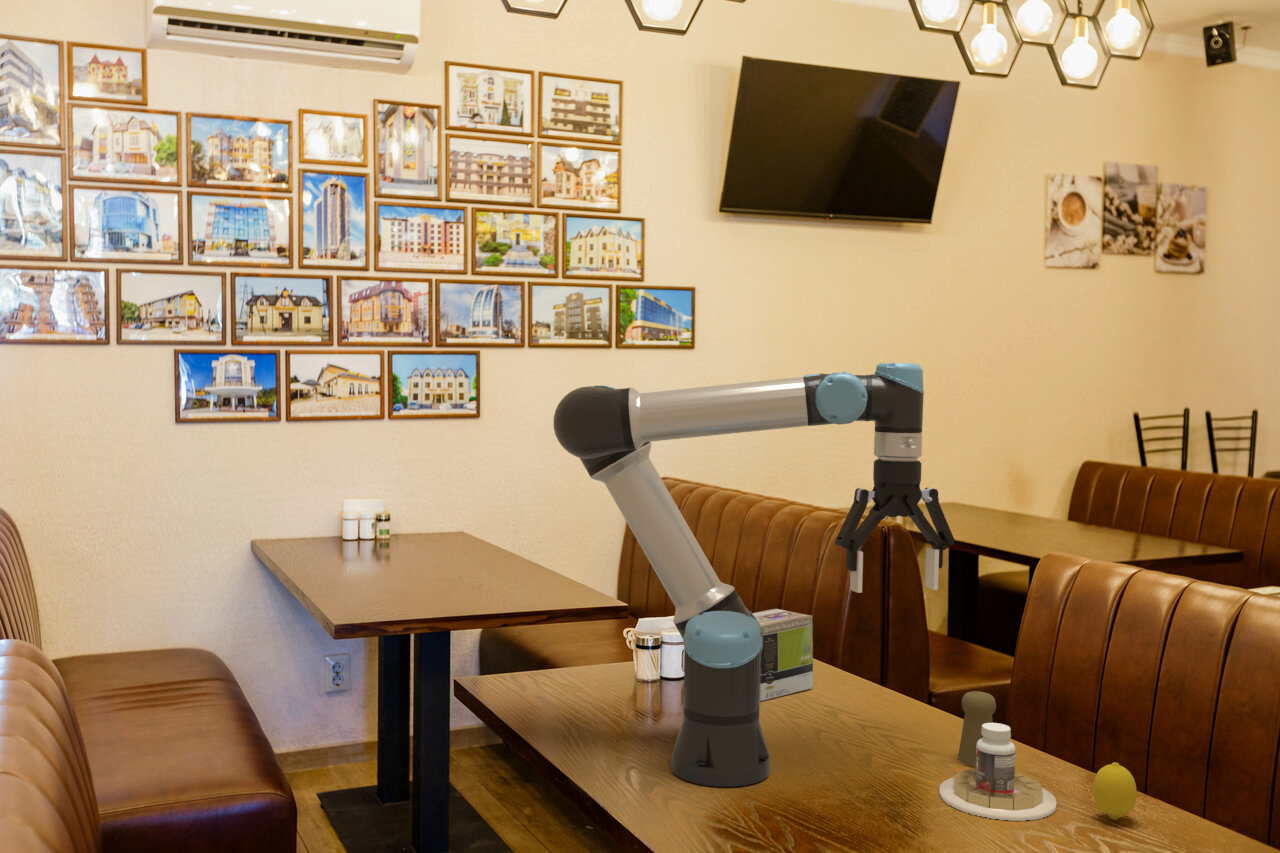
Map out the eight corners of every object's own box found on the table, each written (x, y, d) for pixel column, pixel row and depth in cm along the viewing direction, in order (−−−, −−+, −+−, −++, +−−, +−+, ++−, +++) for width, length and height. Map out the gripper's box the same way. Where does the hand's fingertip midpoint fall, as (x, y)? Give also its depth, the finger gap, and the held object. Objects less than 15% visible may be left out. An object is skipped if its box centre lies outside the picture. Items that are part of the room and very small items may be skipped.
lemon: (1085, 819, 153) (1087, 762, 153) (1102, 809, 157) (1104, 753, 157) (1126, 831, 149) (1127, 772, 149) (1142, 820, 153) (1144, 763, 153)
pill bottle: (967, 788, 162) (969, 722, 162) (1000, 785, 164) (1002, 720, 163) (988, 801, 157) (990, 733, 157) (1021, 799, 158) (1023, 731, 158)
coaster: (982, 826, 150) (982, 820, 150) (918, 785, 165) (918, 780, 165) (1081, 814, 155) (1081, 808, 155) (1009, 775, 170) (1010, 770, 170)
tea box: (776, 679, 226) (777, 606, 225) (814, 690, 218) (815, 615, 217) (722, 691, 216) (724, 615, 215) (760, 703, 208) (761, 624, 208)
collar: (986, 813, 153) (986, 802, 153) (937, 783, 164) (937, 772, 164) (1059, 804, 156) (1059, 793, 156) (1007, 776, 168) (1007, 765, 168)
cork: (966, 752, 181) (968, 685, 181) (1003, 761, 177) (1004, 692, 177) (951, 762, 176) (952, 693, 176) (988, 770, 172) (990, 700, 172)
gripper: (837, 460, 172) (834, 596, 173) (978, 460, 179) (974, 591, 180) (816, 457, 179) (813, 588, 180) (953, 457, 186) (949, 583, 187)
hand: (894, 590), depth 180 cm, fingers open, 13 cm apart
